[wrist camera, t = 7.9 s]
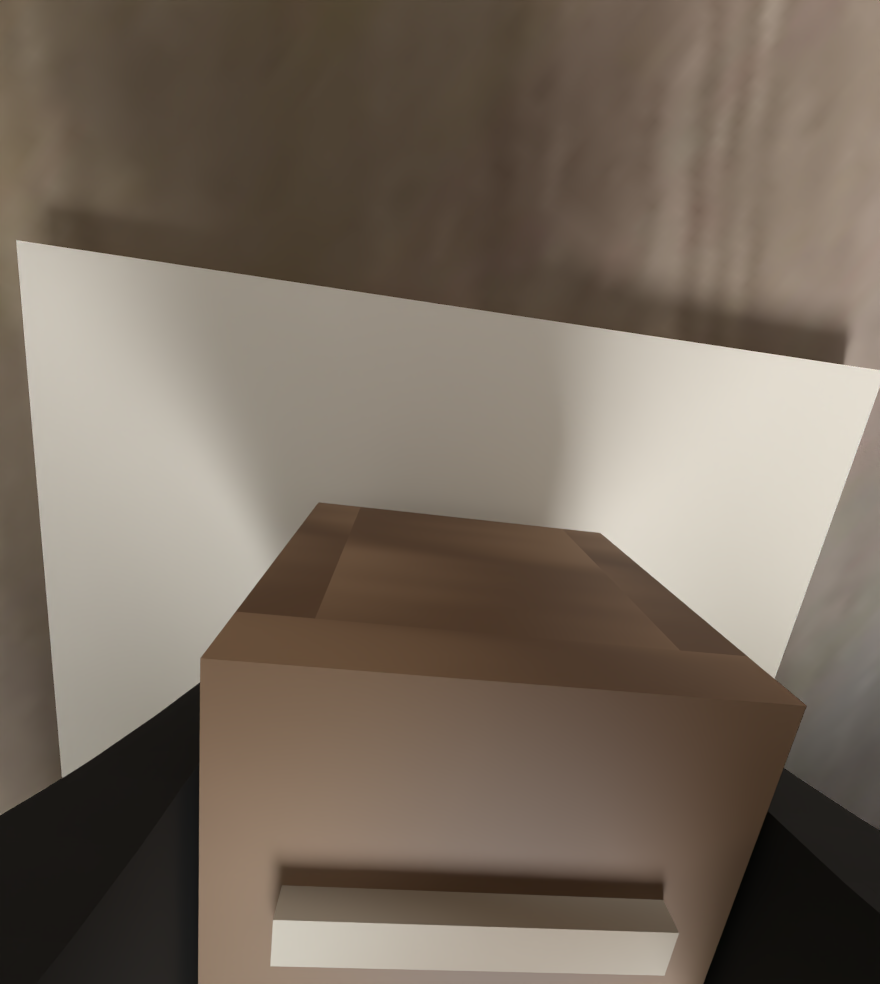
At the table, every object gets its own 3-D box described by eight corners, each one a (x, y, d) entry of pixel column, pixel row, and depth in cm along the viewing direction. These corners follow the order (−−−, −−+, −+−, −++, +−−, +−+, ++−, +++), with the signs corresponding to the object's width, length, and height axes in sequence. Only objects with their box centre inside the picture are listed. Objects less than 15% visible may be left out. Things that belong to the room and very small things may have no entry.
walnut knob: (301, 746, 10) (184, 1131, 5) (318, 501, 9) (182, 681, 4) (548, 762, 11) (677, 1127, 5) (600, 533, 9) (835, 728, 4)
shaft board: (92, 790, 13) (-71, 1000, 9) (56, 253, 10) (-243, 154, 5) (690, 824, 14) (809, 1018, 10) (844, 371, 11) (1121, 370, 7)
